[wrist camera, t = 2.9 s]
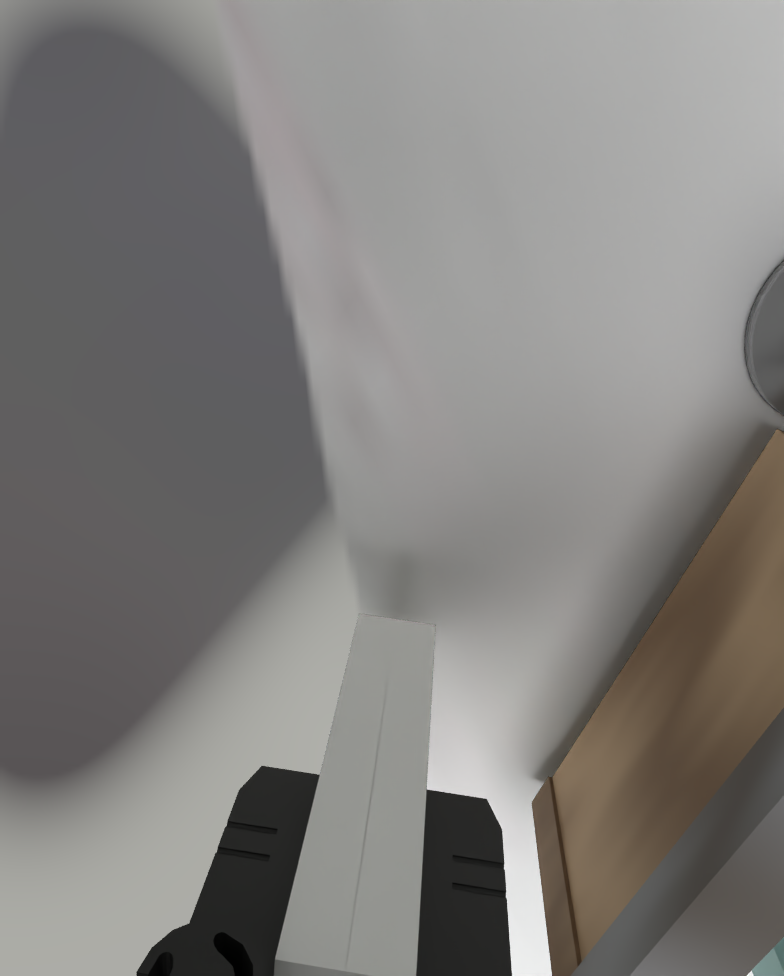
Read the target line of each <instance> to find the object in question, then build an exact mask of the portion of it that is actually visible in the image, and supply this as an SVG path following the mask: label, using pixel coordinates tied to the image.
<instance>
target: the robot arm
mask: <svg viewBox="0 0 784 976" xmlns="http://www.w3.org/2000/svg"><path fill="white" fill-rule="evenodd" d="M435 628H436V625H433V624H426V623H419V622H413V621H406V620H399V619H392V618H386V617H379V616H372V615H365V614H359V616H358V620H357V624H356V628H355V632H354V636H353V640H352V645H351V649H350V653H349V657H348V661H347V665H346V669H345V673H344V677H343V682H342V686H341V690H340V694H339V698H338V702H337V706H336V710H335V715H334V719H333V723H332V727H331V731H330V735H329V739H328V743H327V747H326V751H325V755H324V760H323V764H322V768H321V772H320V775H317V774H311V773H304V772H298V771H292V770H285V769H279V768H272V767H266V766H261V767H260V769H259V770H258V771H257V772H256V773H255V774H254V775H253V776H252V777H251V778H250V779H249V780H248V781H247V782H246V784H244V785H243V787H242V788H241V789H240V790H239V792H238V795H237V797H236V800H235V803H234V805H233V808H232V811H231V814H230V816H229V819H228V823H227V826H226V827H225V829H224V832H223V835H222V838H221V840H220V843H219V846H218V850H217V853H216V854H215V856H214V859H213V862H212V865H211V867H210V870H209V872H208V875H207V878H206V880H205V883H204V886H203V889H202V891H201V894H200V897H199V899H198V902H197V904H196V907H195V910H194V913H193V915H192V918H191V920H190V923H189V924H187V925H185V926H182V927H179V928H177V929H174V930H172V931H171V932H170V933H169V934H168V935H167V936H165V937H164V938H163V939H162V940H161V941H159V942H158V943H157V944H156V945H155V946H154V947H152V948H151V950H150V951H149V953H148V955H147V956H146V958H145V960H144V961H143V963H142V964H141V966H140V967H139V969H138V971H137V976H512V971H511V956H510V942H509V927H508V912H507V898H506V883H505V870H504V853H503V838H502V829H501V827H500V825H499V823H498V821H497V819H496V817H495V815H494V813H493V811H492V809H491V807H490V805H489V803H488V801H487V799H483V798H477V797H470V796H464V795H457V794H451V793H445V792H438V791H432V790H427V772H428V754H429V736H430V718H431V700H432V682H433V664H434V646H435Z"/></svg>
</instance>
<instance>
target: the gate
mask: <svg viewBox="0 0 784 976" xmlns="http://www.w3.org/2000/svg"><path fill="white" fill-rule="evenodd" d="M532 809H533V817H534V826H535V834H536V843H537V851H538V859H539V868H540V876H541V885H542V893H543V901H544V910H545V918H546V927H547V935H548V943H549V952H550V960H551V969H552V976H746V975H747V974H748V973H749V972H750V971H751V970H752V969H753V968H754V967H755V966H756V965H757V964H758V963H759V962H760V961H761V960H762V959H763V958H764V957H765V956H766V955H767V954H768V953H769V952H770V951H771V950H772V949H773V948H774V947H775V946H776V945H777V944H778V943H779V942H780V940H781V939H782V938H783V937H784V432H783V431H781V430H778V429H777V430H776V431H775V433H774V434H773V436H772V438H771V439H770V441H769V442H768V444H767V445H766V447H765V448H764V450H763V451H762V453H761V455H760V456H759V458H758V459H757V461H756V462H755V464H754V465H753V467H752V469H751V470H750V472H749V473H748V475H747V476H746V478H745V479H744V481H743V482H742V484H741V486H740V487H739V489H738V490H737V492H736V493H735V495H734V496H733V498H732V500H731V501H730V503H729V504H728V506H727V507H726V509H725V510H724V512H723V513H722V515H721V517H720V518H719V520H718V521H717V523H716V524H715V526H714V527H713V529H712V531H711V532H710V534H709V535H708V537H707V538H706V540H705V541H704V543H703V544H702V546H701V548H700V549H699V551H698V552H697V554H696V555H695V557H694V558H693V560H692V562H691V563H690V565H689V566H688V568H687V569H686V571H685V572H684V574H683V576H682V577H681V579H680V580H679V582H678V583H677V585H676V586H675V588H674V589H673V591H672V593H671V594H670V596H669V597H668V599H667V600H666V602H665V603H664V605H663V607H662V608H661V610H660V611H659V613H658V614H657V616H656V617H655V619H654V620H653V622H652V624H651V625H650V627H649V628H648V630H647V631H646V633H645V634H644V636H643V638H642V639H641V641H640V642H639V644H638V645H637V647H636V648H635V650H634V651H633V653H632V655H631V656H630V658H629V659H628V661H627V662H626V664H625V665H624V667H623V669H622V670H621V672H620V673H619V675H618V676H617V678H616V679H615V681H614V682H613V684H612V686H611V687H610V689H609V690H608V692H607V693H606V695H605V696H604V698H603V700H602V701H601V703H600V704H599V706H598V707H597V709H596V710H595V712H594V714H593V715H592V717H591V718H590V720H589V721H588V723H587V724H586V726H585V727H584V729H583V731H582V732H581V734H580V735H579V737H578V738H577V740H576V741H575V743H574V745H573V746H572V748H571V749H570V751H569V752H568V754H567V755H566V757H565V758H564V760H563V762H562V763H561V765H560V766H559V768H558V769H557V771H556V772H555V774H554V776H553V777H550V776H548V778H547V779H546V781H545V783H544V784H543V786H542V787H541V789H540V790H539V792H538V794H537V795H536V797H535V798H534V800H533V801H532Z"/></svg>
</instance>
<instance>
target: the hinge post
mask: <svg viewBox="0 0 784 976" xmlns="http://www.w3.org/2000/svg"><path fill="white" fill-rule="evenodd" d="M745 355H746V363H747V367H748V370H749V374H750V376H751V379H752V381H753V383H754V385H755V387H756V388H757V390H758V392H759V393H760V395H761V396H762V397H763V398H764V399H765V400H766V401H767V403H768V404H769V405H771V406H772V407H773V408H774V409H776V410H777V411H778V412H780V413H781V414H783V415H784V261H783V262H782V263H781V264H780V265H779V266H778V267H777V268H776V269H775V270H774V272H773V273H772V274H771V276H770V277H769V278H768V280H767V281H766V283H765V284H764V286H763V288H762V289H761V291H760V293H759V294H758V296H757V299H756V301H755V303H754V305H753V308H752V310H751V313H750V317H749V320H748V324H747V330H746V336H745Z"/></svg>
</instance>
